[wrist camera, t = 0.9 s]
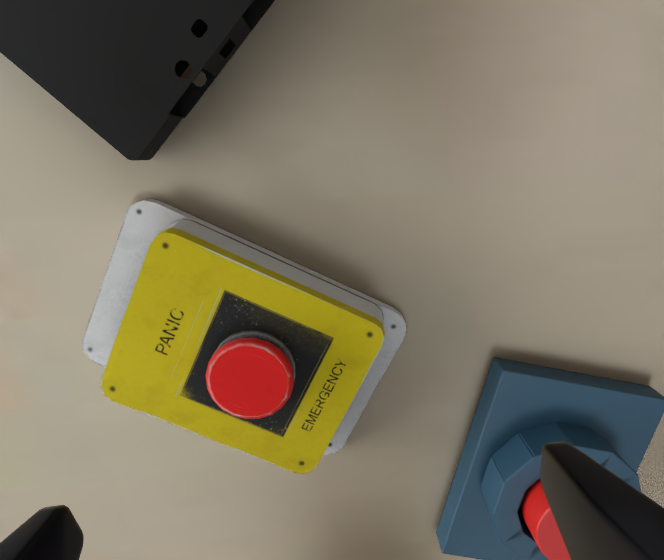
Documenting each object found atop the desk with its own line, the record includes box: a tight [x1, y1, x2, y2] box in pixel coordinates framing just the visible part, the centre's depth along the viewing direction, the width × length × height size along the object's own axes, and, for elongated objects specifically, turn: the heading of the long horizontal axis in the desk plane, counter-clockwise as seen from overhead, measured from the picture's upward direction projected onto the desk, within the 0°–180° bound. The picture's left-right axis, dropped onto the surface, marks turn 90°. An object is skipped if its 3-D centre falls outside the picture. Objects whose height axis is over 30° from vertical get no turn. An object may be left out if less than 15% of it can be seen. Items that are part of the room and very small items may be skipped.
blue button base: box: [436, 358, 664, 560], centre depth 24 cm, size 12×9×4 cm
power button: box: [522, 479, 571, 560], centre depth 22 cm, size 4×4×2 cm
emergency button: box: [82, 199, 407, 474], centre depth 21 cm, size 9×4×15 cm
